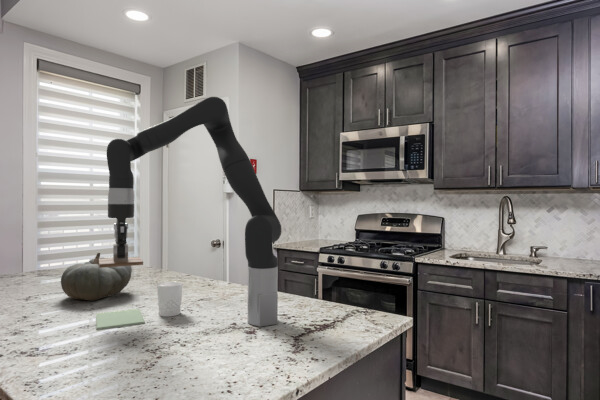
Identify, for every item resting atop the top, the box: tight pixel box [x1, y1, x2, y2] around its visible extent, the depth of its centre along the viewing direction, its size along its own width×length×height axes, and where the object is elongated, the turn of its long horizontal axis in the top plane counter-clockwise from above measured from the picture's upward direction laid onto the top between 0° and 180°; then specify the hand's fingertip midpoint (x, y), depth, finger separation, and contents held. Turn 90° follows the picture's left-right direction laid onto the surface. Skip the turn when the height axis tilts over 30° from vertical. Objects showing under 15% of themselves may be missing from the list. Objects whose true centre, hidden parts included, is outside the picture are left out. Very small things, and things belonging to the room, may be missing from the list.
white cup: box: [156, 281, 183, 318], centre depth 126 cm, size 8×8×10 cm
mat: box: [95, 308, 146, 331], centre depth 120 cm, size 16×13×1 cm
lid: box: [99, 243, 144, 268], centre depth 120 cm, size 12×12×6 cm
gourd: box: [60, 252, 133, 302], centre depth 149 cm, size 25×25×17 cm
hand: (120, 256), depth 120 cm, fingers closed on lid, 4 cm apart
